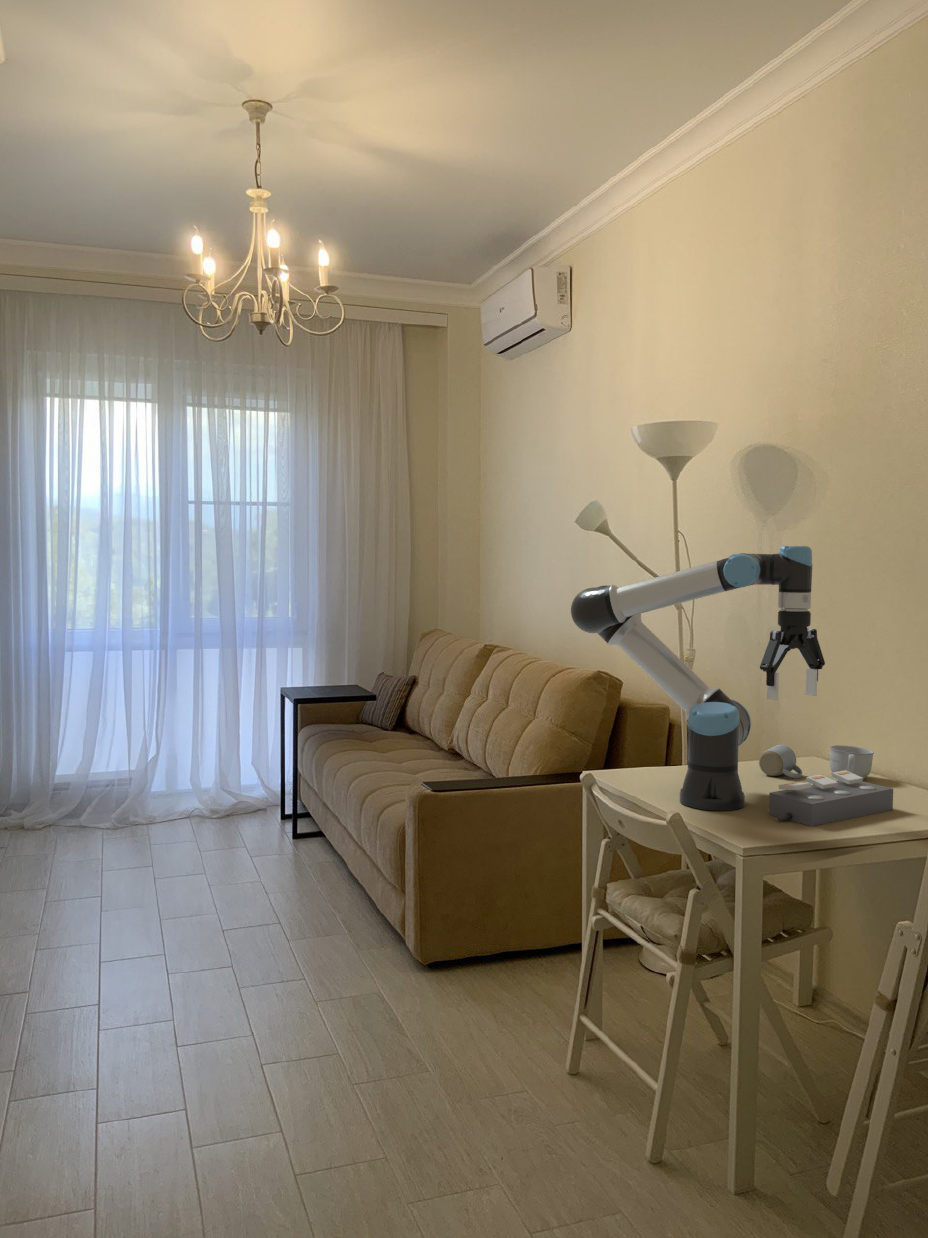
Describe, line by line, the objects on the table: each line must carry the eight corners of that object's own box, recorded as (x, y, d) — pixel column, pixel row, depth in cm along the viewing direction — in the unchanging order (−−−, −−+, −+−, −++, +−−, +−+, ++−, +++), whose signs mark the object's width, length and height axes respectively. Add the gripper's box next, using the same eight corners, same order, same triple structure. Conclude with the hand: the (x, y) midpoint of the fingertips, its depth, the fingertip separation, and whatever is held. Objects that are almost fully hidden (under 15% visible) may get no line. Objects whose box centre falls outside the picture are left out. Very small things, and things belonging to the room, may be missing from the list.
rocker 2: (822, 790, 235) (823, 784, 235) (805, 782, 240) (806, 776, 239) (836, 787, 238) (837, 781, 238) (819, 779, 242) (820, 774, 242)
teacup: (833, 771, 279) (834, 742, 278) (875, 776, 273) (876, 747, 273) (822, 781, 267) (823, 751, 266) (866, 787, 261) (867, 756, 261)
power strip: (799, 828, 222) (800, 805, 222) (757, 816, 232) (758, 793, 232) (892, 809, 239) (893, 787, 238) (849, 798, 249) (850, 777, 249)
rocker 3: (848, 785, 240) (849, 779, 240) (831, 777, 244) (832, 772, 244) (862, 783, 243) (863, 777, 242) (844, 775, 247) (845, 769, 247)
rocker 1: (796, 791, 231) (795, 785, 231) (779, 790, 235) (778, 784, 235) (811, 788, 233) (810, 782, 233) (794, 788, 237) (793, 781, 237)
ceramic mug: (756, 775, 275) (757, 746, 274) (769, 770, 281) (770, 742, 280) (794, 781, 268) (795, 752, 267) (807, 776, 274) (808, 748, 273)
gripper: (770, 612, 237) (768, 703, 238) (841, 609, 250) (839, 695, 251) (745, 610, 243) (743, 699, 244) (816, 607, 256) (814, 691, 257)
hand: (792, 697), depth 248 cm, fingers open, 13 cm apart
